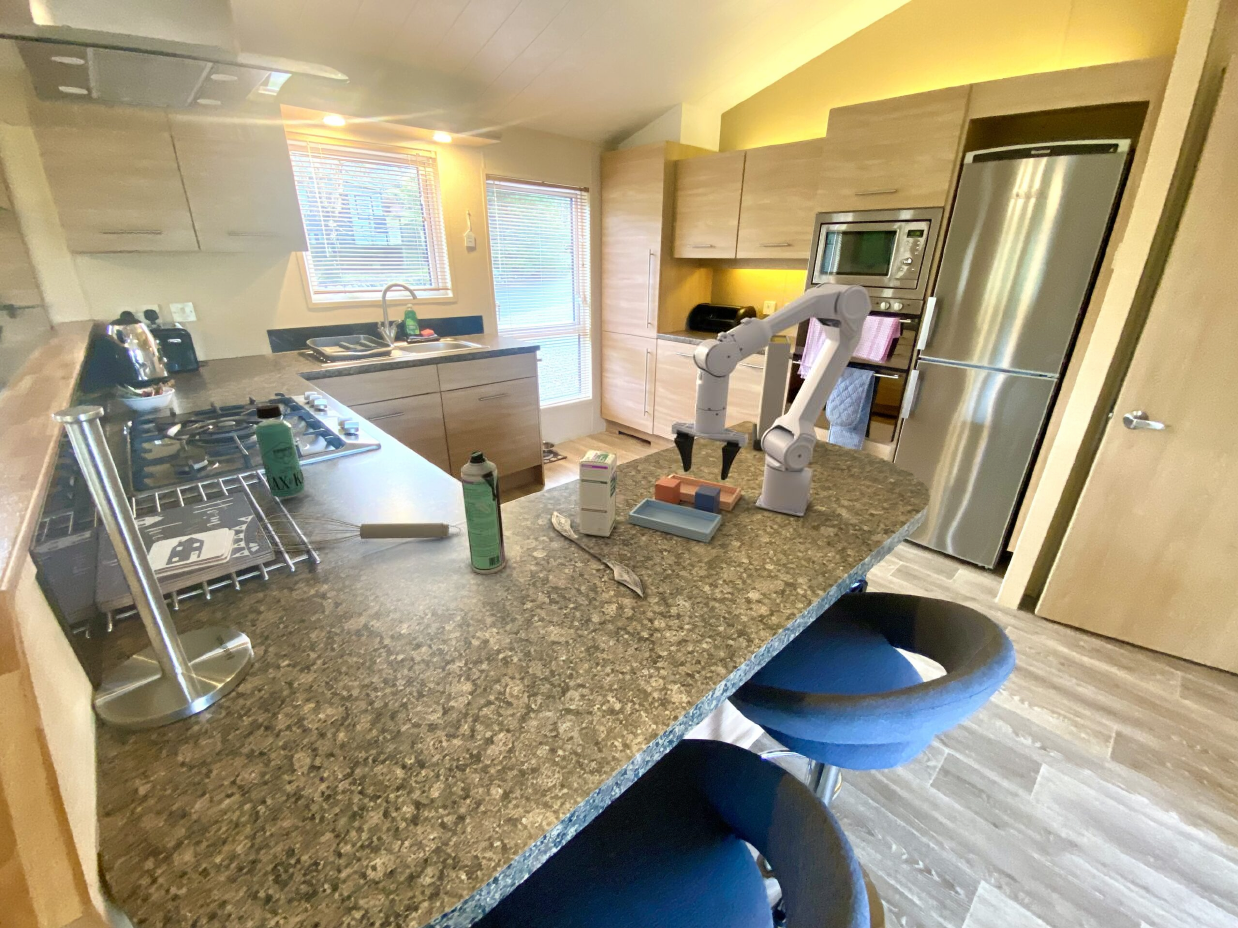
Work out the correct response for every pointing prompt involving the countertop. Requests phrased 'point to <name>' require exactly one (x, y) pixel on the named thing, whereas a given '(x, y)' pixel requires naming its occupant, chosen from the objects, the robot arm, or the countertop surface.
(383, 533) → the kitchen whisk
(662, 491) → the terracotta block
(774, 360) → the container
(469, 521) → the spray can
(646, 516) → the blue tray
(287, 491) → the beverage bottle
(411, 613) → the countertop surface
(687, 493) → the peach tray
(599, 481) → the syrup box
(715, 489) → the blue block
